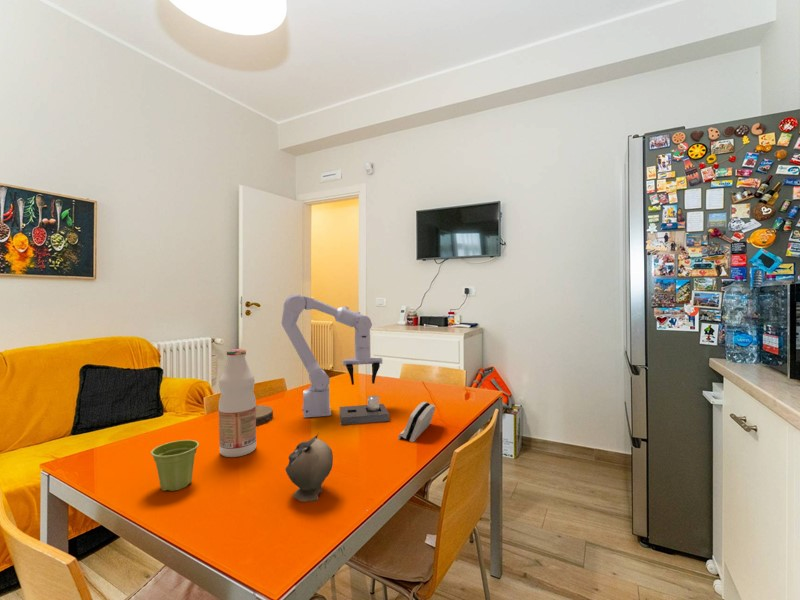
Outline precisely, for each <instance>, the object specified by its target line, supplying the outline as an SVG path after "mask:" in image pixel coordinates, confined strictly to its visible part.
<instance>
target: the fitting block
mask: <svg viewBox="0 0 800 600" xmlns="http://www.w3.org/2000/svg"><path fill="white" fill-rule="evenodd" d="M338 411H339V419H340V424H341V426H346V425H348V426H349V425H360V424H370V423H371V424H372V423H374V424H375V423H383V422H385V423H386V422H390V413H389V411H388V409H387V407H386V406H385V404H384V403H379V411H377V412H368V404H361V405H359V404H358V405H349V406H339V410H338Z"/></svg>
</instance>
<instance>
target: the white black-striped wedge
mask: <svg viewBox="0 0 800 600" xmlns="http://www.w3.org/2000/svg"><path fill="white" fill-rule="evenodd" d="M435 410H436V406H435V405H434V404H431V403H430V402H427V401H422V402H421V403H419V404H418V405H417V406H416V407H415V409H413V411H412V412H411V414H410V416H409V418H408V421H407V423H406V426H405V428H404V430H402V431H401V432H400V433H399V434H398V438H397V441H398V440H401V438H403V439H405V440H406V439H408V440H409V442H411V443H414V442H416V440H417V439H418V438H419V437H420V436H421V434H423V432H424V431H425V430H426V429H427V428H428V427H429V426H430V425H431V423H432V420H433V416H434V413H435Z"/></svg>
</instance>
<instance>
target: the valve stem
mask: <svg viewBox="0 0 800 600" xmlns="http://www.w3.org/2000/svg"><path fill="white" fill-rule="evenodd" d="M379 404H380V396H379V395H375V394H374V395H369V396H367V405H368V412H377V411H379Z"/></svg>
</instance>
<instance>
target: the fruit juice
mask: <svg viewBox="0 0 800 600" xmlns="http://www.w3.org/2000/svg"><path fill="white" fill-rule="evenodd" d="M246 356H247V349H245V348H234V349H228V350H226V357H227V362H226V364H225V367H224V369H223V372H222V375H221V376H220V378H219V379H218V388H219V392H220V396H219V400H218V424H219V425H218V434H219V437H218V438H219V453H220V455H221V456H223V457H226V458H236V457H238V458H239V457H242V456H246V455H248V454H251V453H253V452H254V451H255V450H256V447H257V426H256V405H257V404H256V395H255V393H254V387H255V376H254V375H253V373H252V371H251V369H250V367H249V364H248V362H247V360H246Z"/></svg>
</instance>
